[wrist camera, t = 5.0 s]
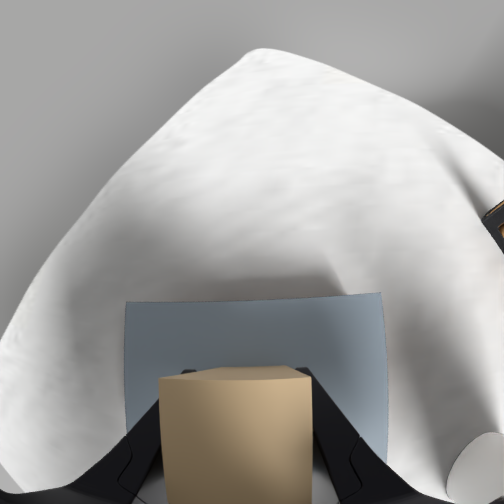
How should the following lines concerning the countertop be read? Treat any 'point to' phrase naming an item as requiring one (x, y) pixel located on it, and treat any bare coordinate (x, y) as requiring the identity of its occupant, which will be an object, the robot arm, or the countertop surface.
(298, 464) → the lid
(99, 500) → the robot arm
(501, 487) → the cylindrical container
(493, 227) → the ammunition clip
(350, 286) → the countertop surface
